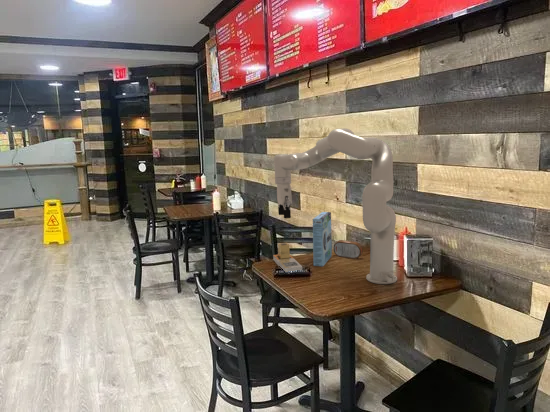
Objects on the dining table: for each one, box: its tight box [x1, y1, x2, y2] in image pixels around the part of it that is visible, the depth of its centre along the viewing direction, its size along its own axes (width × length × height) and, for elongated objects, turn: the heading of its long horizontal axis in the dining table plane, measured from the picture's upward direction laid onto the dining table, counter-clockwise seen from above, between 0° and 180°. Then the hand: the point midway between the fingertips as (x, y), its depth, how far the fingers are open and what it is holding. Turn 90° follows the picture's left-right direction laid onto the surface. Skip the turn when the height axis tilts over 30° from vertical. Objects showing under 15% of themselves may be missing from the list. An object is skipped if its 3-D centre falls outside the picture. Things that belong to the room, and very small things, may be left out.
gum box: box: [312, 211, 333, 267], centre depth 205 cm, size 20×5×23 cm, turn 160°
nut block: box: [277, 242, 291, 259], centre depth 205 cm, size 4×4×9 cm
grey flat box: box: [272, 254, 303, 272], centre depth 200 cm, size 22×8×3 cm, turn 14°
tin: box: [332, 239, 364, 260], centre depth 212 cm, size 15×3×8 cm, turn 58°
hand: (284, 216), depth 201 cm, fingers open, 9 cm apart
